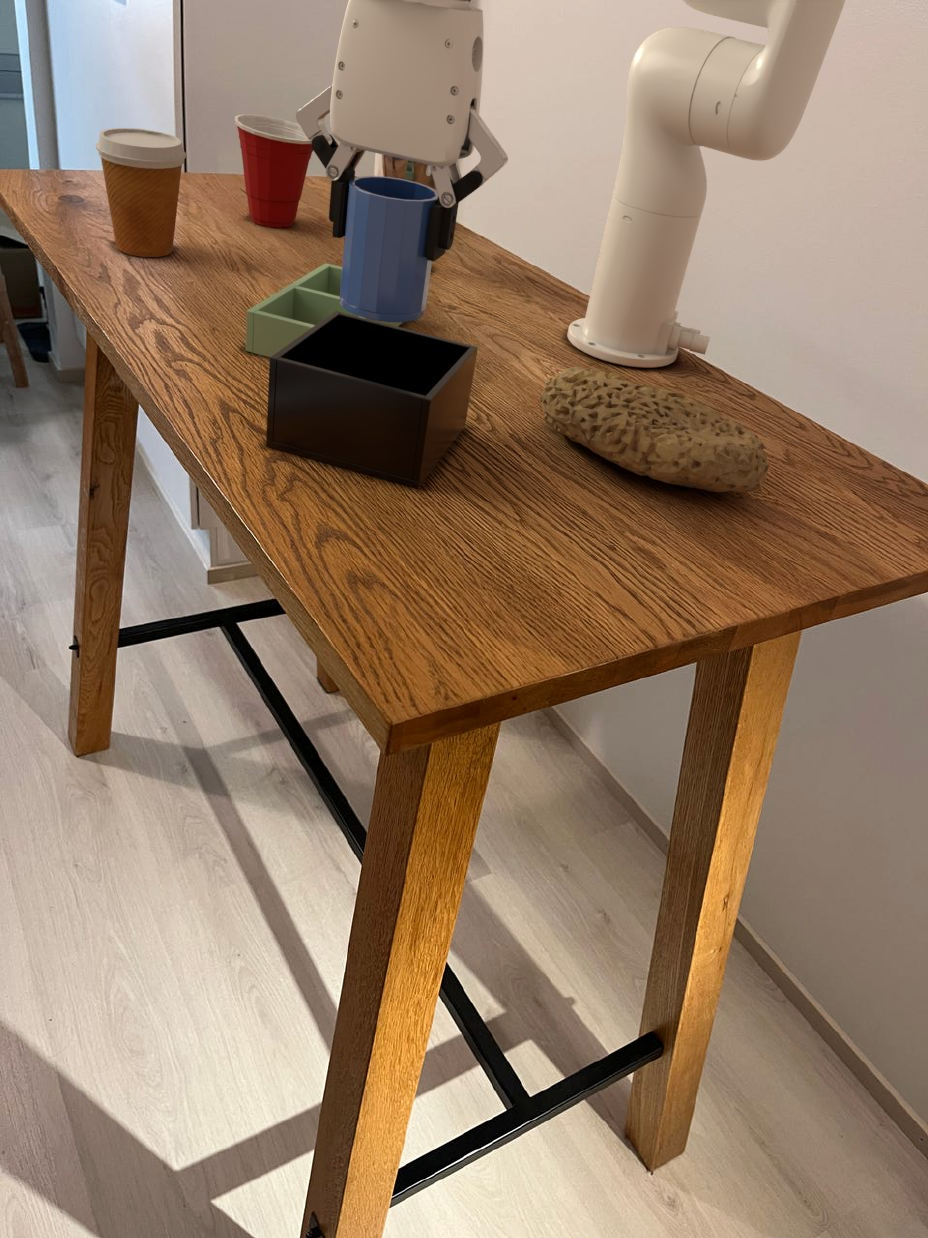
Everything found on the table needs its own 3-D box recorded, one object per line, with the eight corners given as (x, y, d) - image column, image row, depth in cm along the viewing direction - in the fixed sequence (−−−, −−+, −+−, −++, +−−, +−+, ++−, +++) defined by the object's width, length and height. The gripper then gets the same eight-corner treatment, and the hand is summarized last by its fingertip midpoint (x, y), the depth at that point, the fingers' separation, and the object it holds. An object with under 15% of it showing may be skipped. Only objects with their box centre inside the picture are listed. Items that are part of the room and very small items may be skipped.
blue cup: (435, 305, 83) (451, 190, 78) (408, 329, 77) (423, 206, 72) (358, 286, 84) (368, 170, 79) (325, 308, 79) (335, 185, 73)
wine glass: (386, 275, 123) (400, 143, 115) (361, 254, 129) (373, 126, 120) (444, 275, 127) (462, 146, 118) (417, 255, 132) (432, 130, 124)
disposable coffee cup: (204, 253, 120) (204, 144, 113) (142, 267, 113) (138, 151, 106) (146, 231, 123) (143, 124, 116) (82, 243, 116) (75, 129, 109)
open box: (464, 427, 91) (478, 346, 87) (417, 488, 81) (430, 400, 76) (328, 391, 93) (335, 310, 89) (265, 446, 83) (269, 357, 78)
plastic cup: (308, 239, 131) (315, 138, 124) (224, 225, 130) (226, 123, 123) (319, 217, 140) (326, 122, 133) (240, 204, 139) (243, 108, 132)
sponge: (519, 443, 93) (681, 504, 79) (536, 356, 91) (706, 404, 76) (618, 449, 101) (781, 505, 87) (636, 370, 99) (807, 414, 85)
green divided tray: (406, 319, 112) (410, 283, 110) (340, 376, 97) (343, 335, 94) (322, 298, 113) (325, 262, 111) (245, 350, 98) (246, 310, 96)
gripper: (555, -2, 70) (508, 260, 80) (321, -50, 72) (304, 210, 82) (530, 0, 64) (483, 284, 74) (275, -52, 66) (263, 229, 76)
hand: (389, 243), depth 78 cm, fingers closed on blue cup, 6 cm apart
